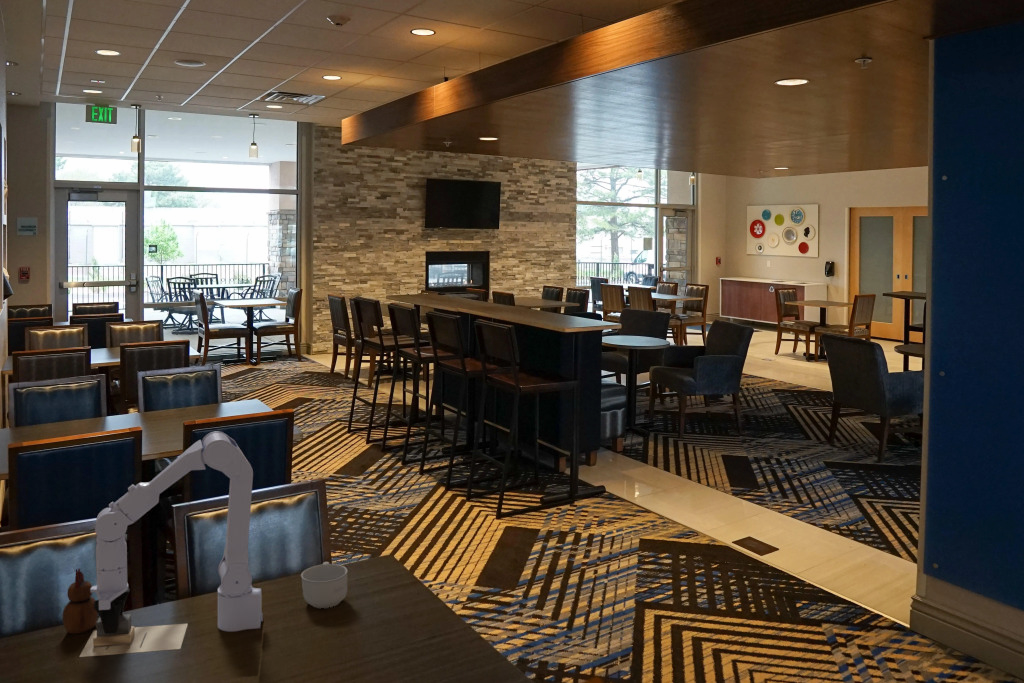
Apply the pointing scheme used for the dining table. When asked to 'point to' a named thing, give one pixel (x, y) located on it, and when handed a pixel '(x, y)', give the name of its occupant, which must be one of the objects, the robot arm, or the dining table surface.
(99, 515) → the robot arm
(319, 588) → the teacup
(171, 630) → the board
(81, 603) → the wooden figurine
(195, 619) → the dining table surface
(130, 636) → the block
